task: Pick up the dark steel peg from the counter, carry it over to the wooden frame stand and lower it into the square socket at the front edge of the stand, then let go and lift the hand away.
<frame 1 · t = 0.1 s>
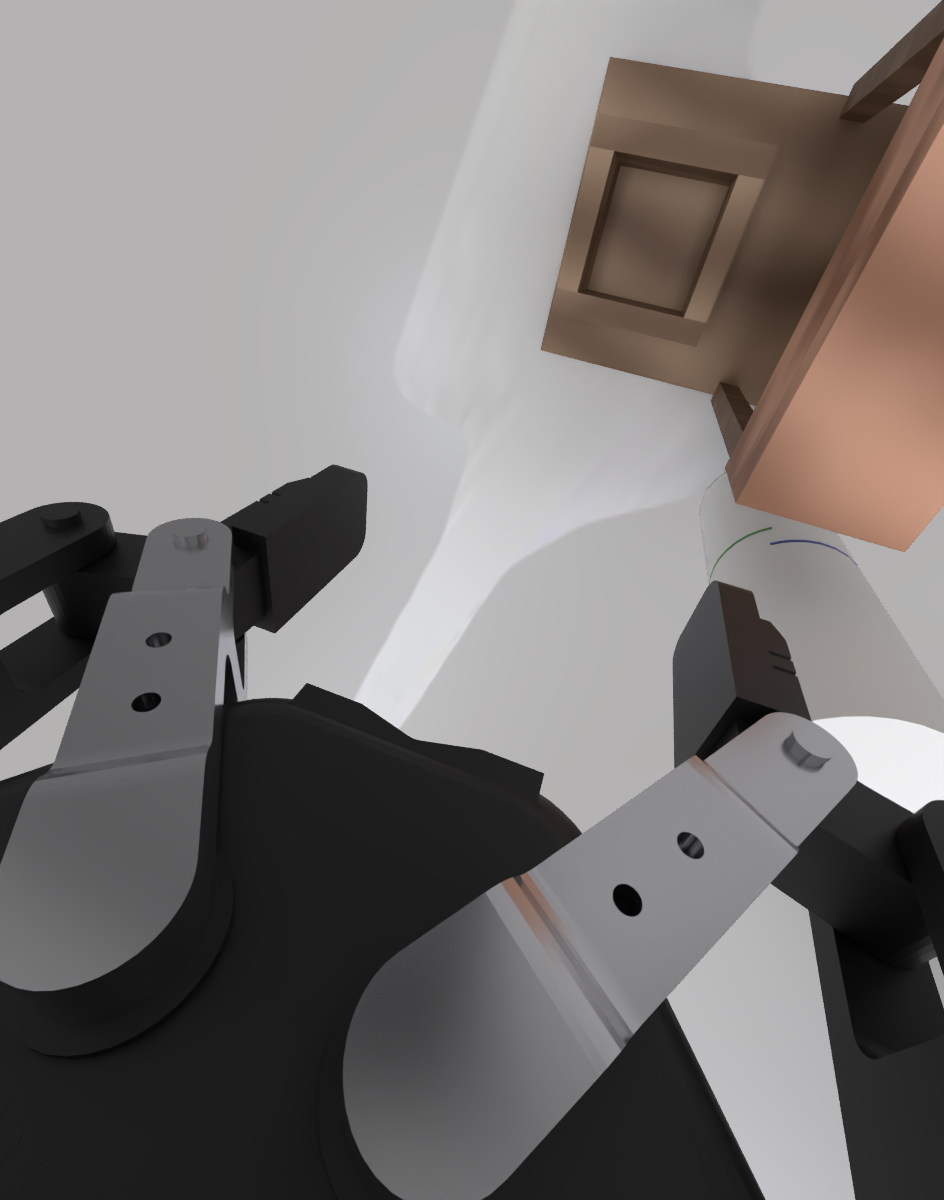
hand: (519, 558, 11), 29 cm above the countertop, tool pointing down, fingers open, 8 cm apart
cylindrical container: (752, 508, 37), on the countertop
wooden frame stand: (653, 242, 30), on the countertop
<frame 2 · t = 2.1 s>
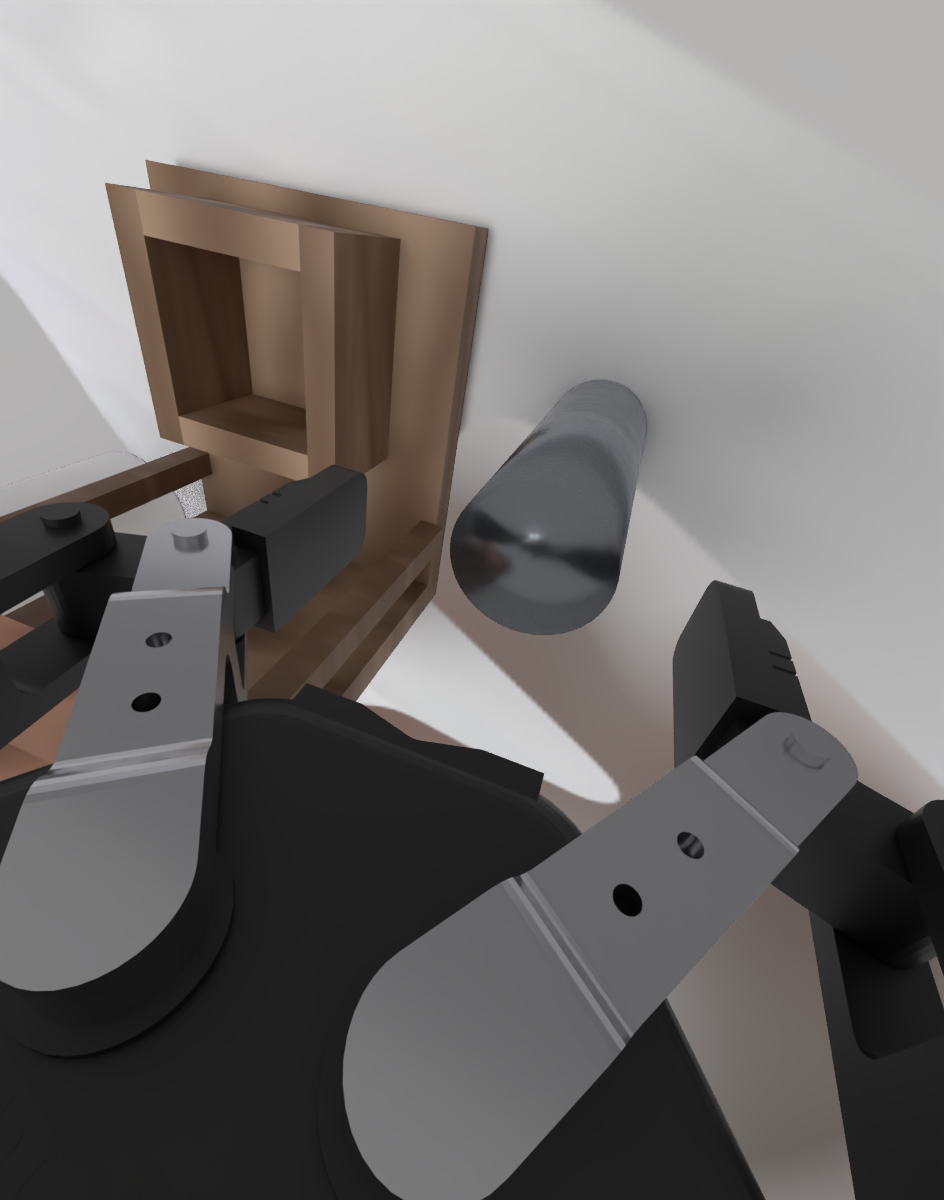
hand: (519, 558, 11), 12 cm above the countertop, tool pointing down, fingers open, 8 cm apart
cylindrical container: (143, 504, 33), on the countertop
wooden frame stand: (324, 335, 23), on the countertop
steel peg: (596, 430, 21), on the countertop
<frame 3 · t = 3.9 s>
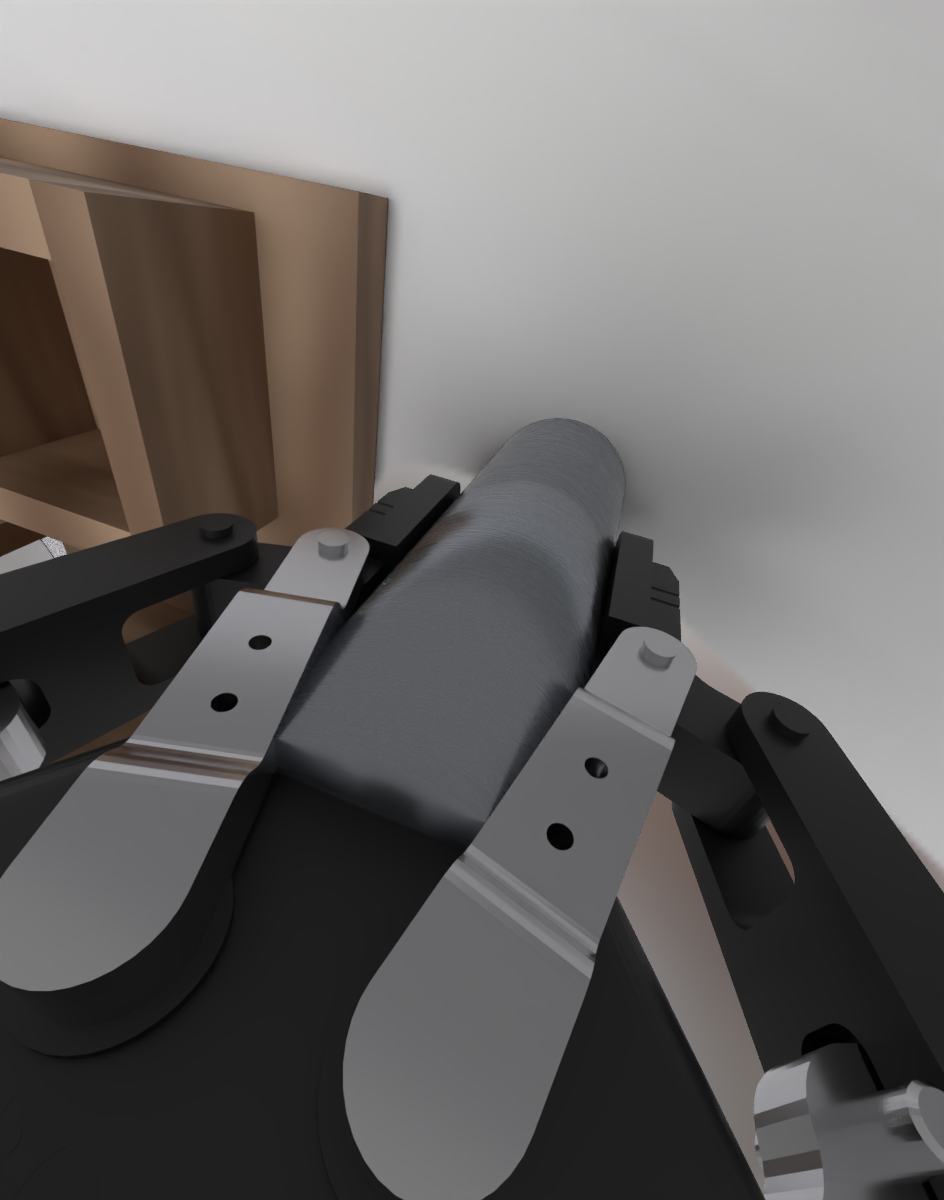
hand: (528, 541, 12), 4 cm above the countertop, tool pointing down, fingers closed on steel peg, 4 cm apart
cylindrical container: (11, 552, 27), on the countertop
wooden frame stand: (186, 350, 16), on the countertop
steel peg: (556, 486, 15), on the countertop, touching gripper
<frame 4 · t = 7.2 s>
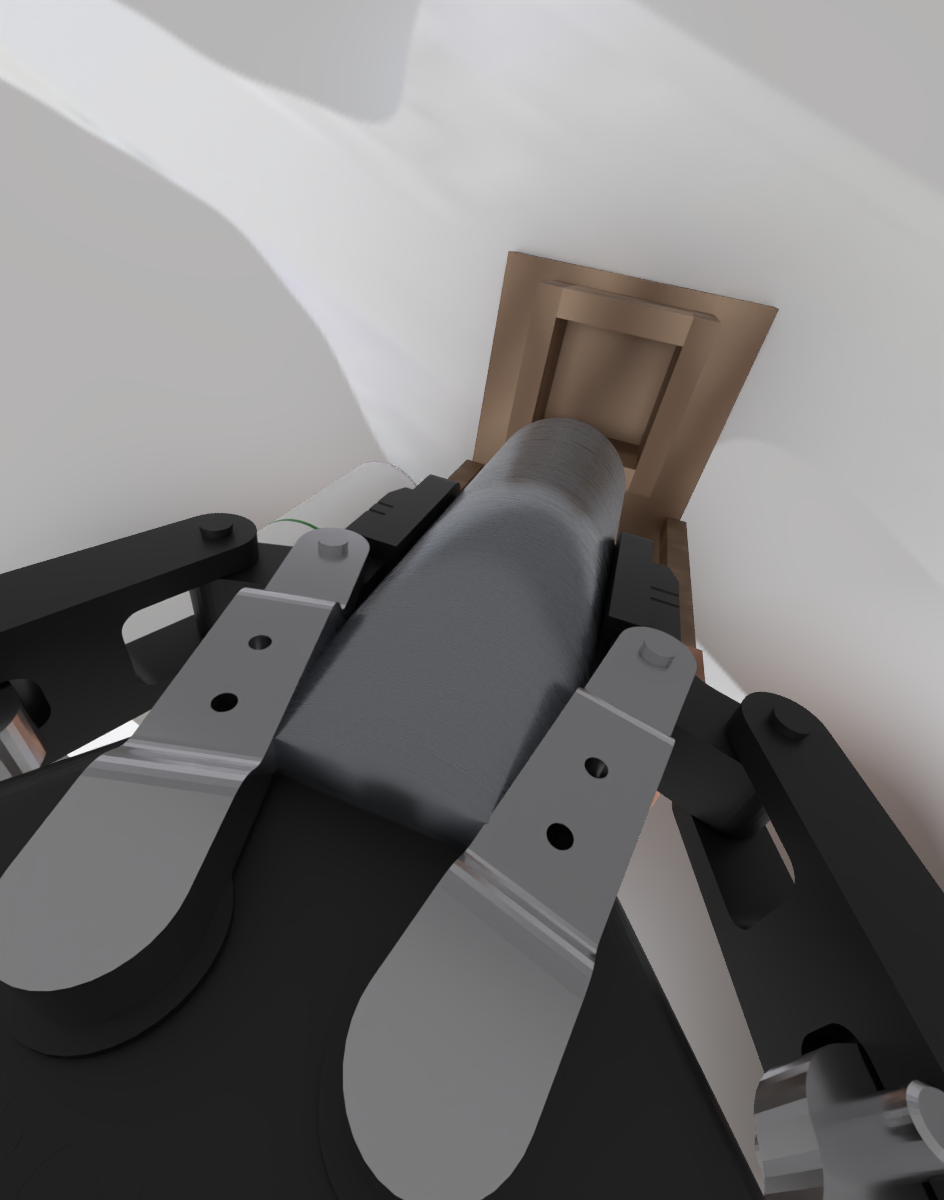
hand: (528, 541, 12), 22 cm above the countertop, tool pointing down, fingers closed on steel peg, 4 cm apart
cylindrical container: (384, 504, 40), on the countertop
wooden frame stand: (608, 376, 30), on the countertop
steel peg: (556, 486, 15), point 19 cm above the countertop, touching gripper
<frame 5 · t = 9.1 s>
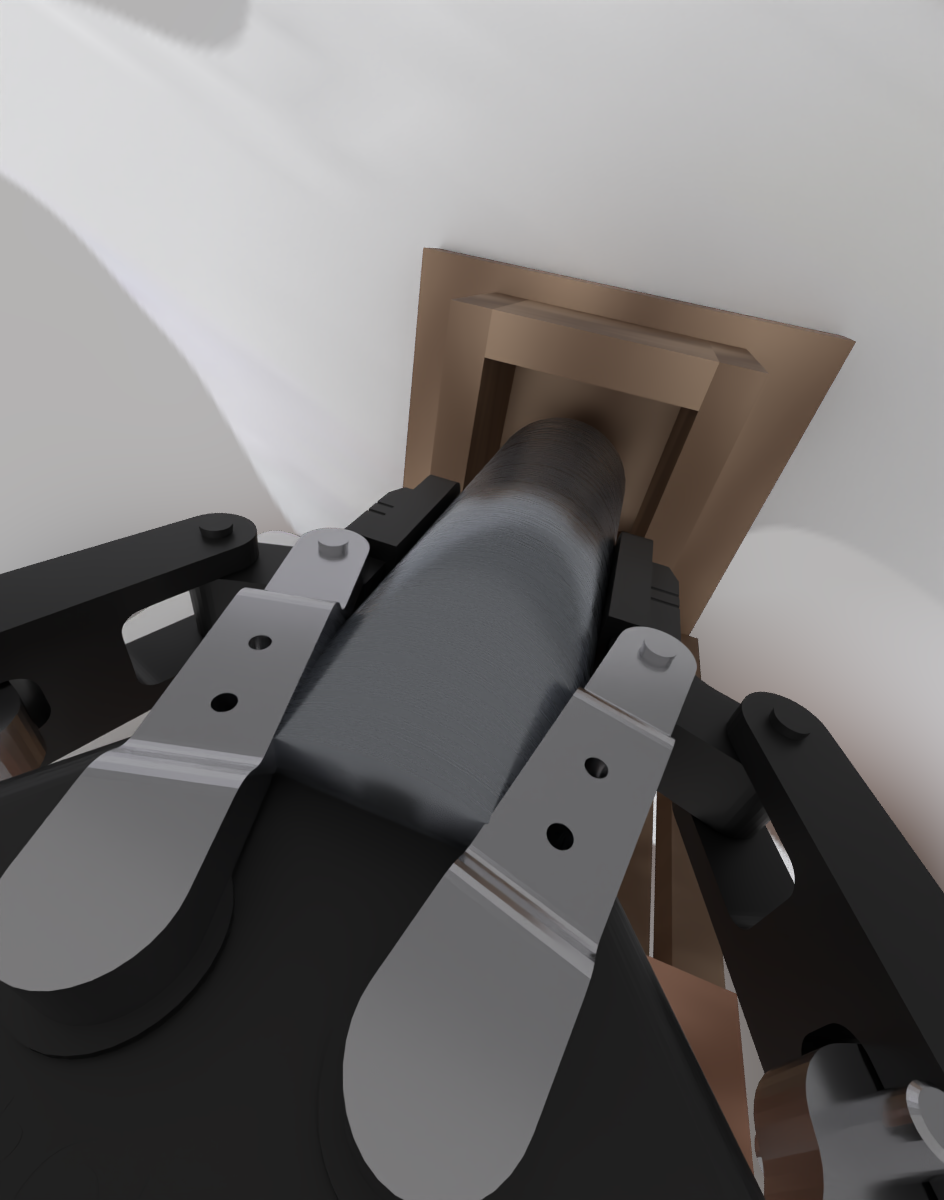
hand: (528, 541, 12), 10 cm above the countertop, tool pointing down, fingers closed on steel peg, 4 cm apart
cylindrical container: (297, 582, 30), on the countertop
wooden frame stand: (584, 432, 20), on the countertop
steel peg: (556, 486, 15), point 6 cm above the countertop, touching gripper
when the fingers open (7 cm above the countertop, at t = 10.6 s): steel peg drops 2 cm, resting on wooden frame stand.
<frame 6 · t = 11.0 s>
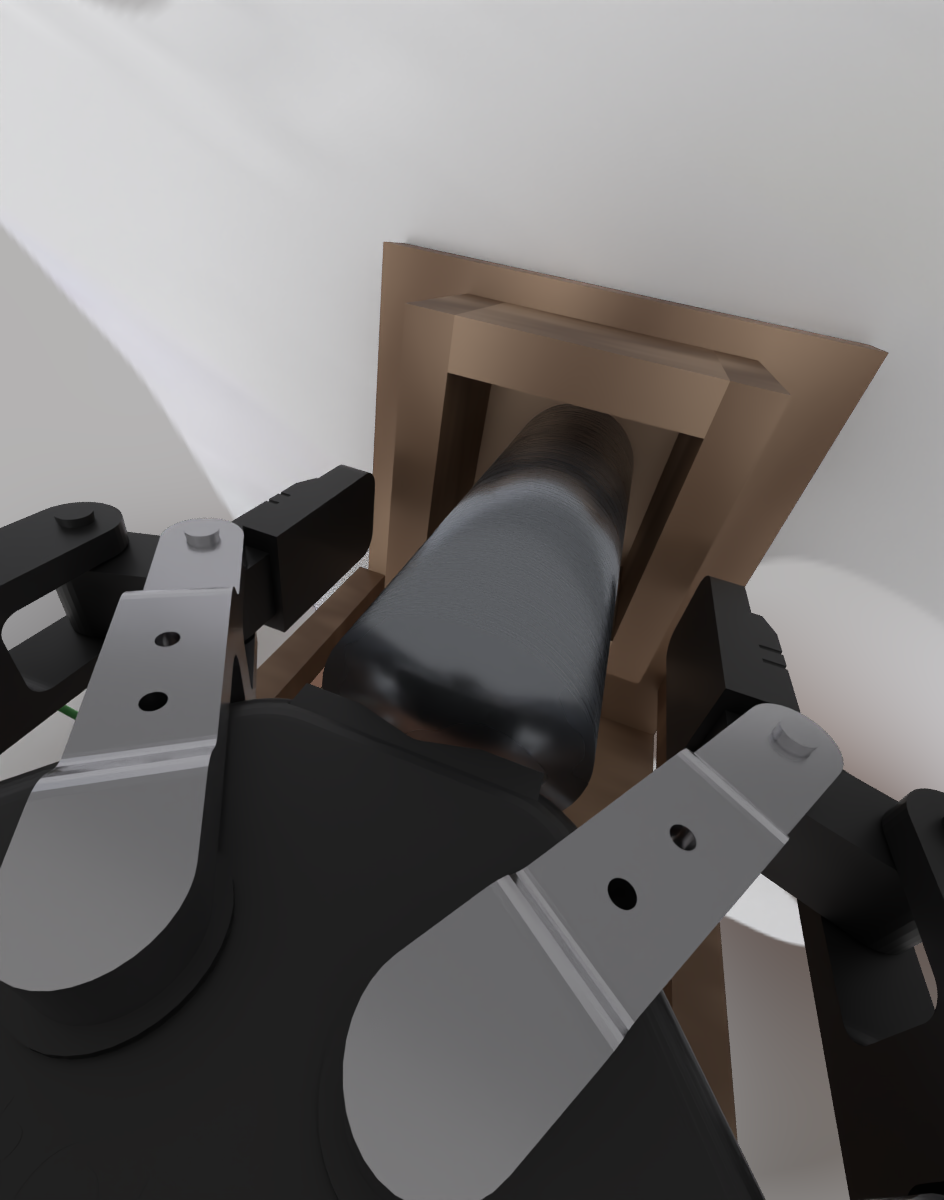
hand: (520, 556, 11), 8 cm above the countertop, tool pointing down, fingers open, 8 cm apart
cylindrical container: (265, 607, 28), on the countertop
wooden frame stand: (572, 452, 18), on the countertop
steel peg: (570, 466, 17), point 2 cm above the countertop, touching wooden frame stand
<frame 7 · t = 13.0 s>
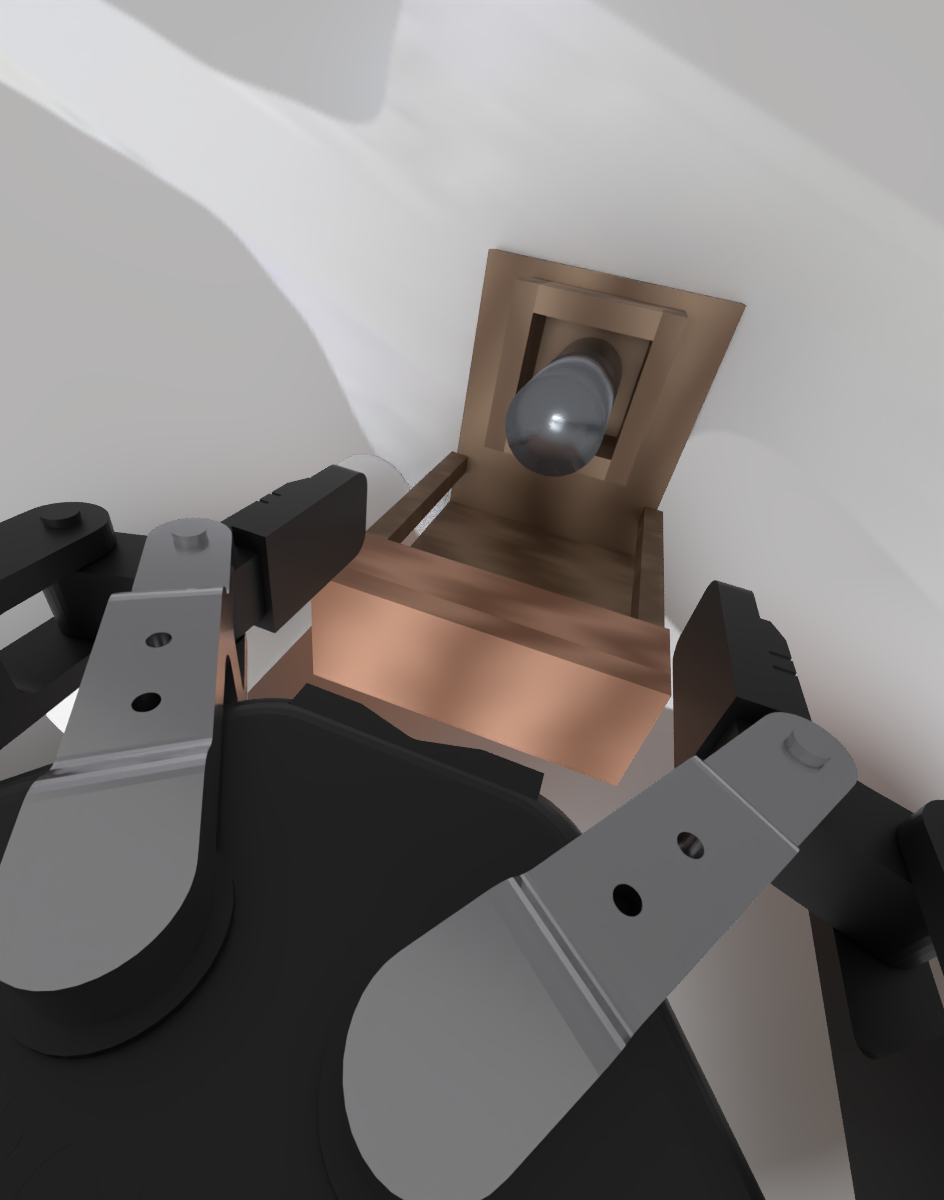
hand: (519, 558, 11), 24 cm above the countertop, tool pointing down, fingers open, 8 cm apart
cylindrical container: (372, 496, 41), on the countertop
wooden frame stand: (587, 370, 31), on the countertop
steel peg: (587, 374, 29), point 2 cm above the countertop, touching wooden frame stand
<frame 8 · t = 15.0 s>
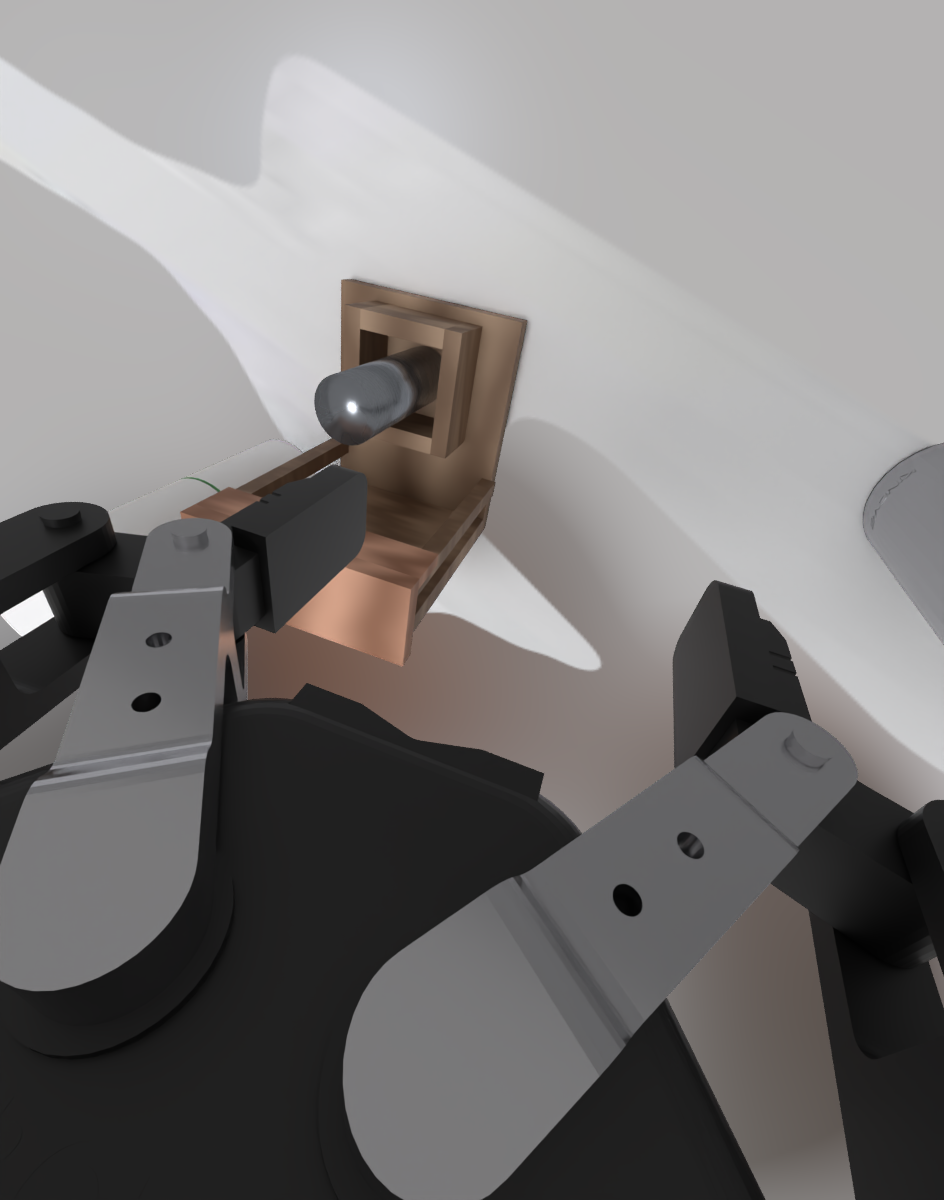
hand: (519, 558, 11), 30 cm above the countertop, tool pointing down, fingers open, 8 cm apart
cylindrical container: (286, 474, 50), on the countertop
wooden frame stand: (429, 371, 40), on the countertop
steel peg: (424, 374, 38), point 2 cm above the countertop, touching wooden frame stand
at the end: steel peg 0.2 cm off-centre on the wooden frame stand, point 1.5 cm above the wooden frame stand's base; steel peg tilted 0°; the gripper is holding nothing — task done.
